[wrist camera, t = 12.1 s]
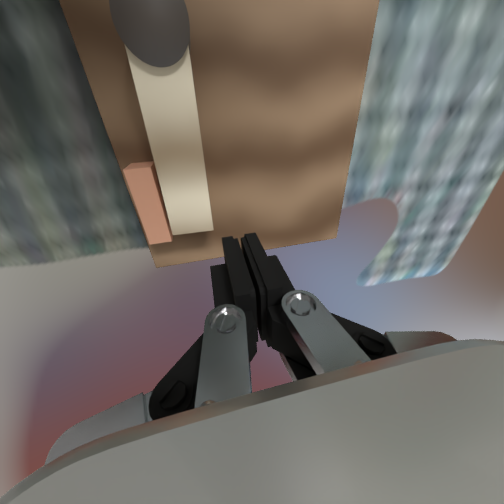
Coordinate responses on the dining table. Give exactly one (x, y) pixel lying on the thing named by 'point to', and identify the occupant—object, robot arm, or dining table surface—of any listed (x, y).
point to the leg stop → (149, 201)
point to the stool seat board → (248, 111)
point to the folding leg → (167, 104)
